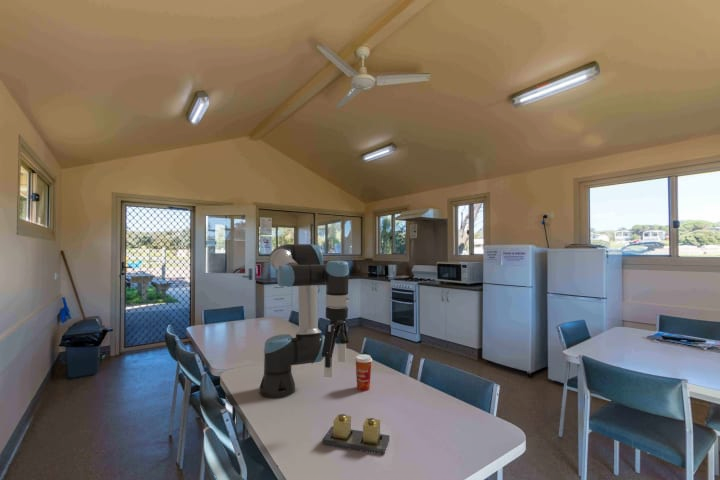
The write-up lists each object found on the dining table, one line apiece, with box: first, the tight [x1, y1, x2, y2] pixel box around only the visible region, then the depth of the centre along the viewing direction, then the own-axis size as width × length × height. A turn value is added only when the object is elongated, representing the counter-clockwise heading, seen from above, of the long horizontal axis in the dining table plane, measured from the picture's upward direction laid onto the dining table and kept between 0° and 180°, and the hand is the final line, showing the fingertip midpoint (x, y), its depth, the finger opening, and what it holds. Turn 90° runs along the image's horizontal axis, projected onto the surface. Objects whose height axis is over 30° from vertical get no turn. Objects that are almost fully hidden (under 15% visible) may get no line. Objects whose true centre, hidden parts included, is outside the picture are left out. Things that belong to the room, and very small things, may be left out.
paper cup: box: [354, 354, 373, 392], centre depth 151 cm, size 8×8×14 cm
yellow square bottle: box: [333, 413, 352, 441], centre depth 110 cm, size 4×4×8 cm
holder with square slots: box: [322, 417, 390, 455], centre depth 109 cm, size 20×8×8 cm, turn 74°
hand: (335, 368), depth 115 cm, fingers open, 13 cm apart
